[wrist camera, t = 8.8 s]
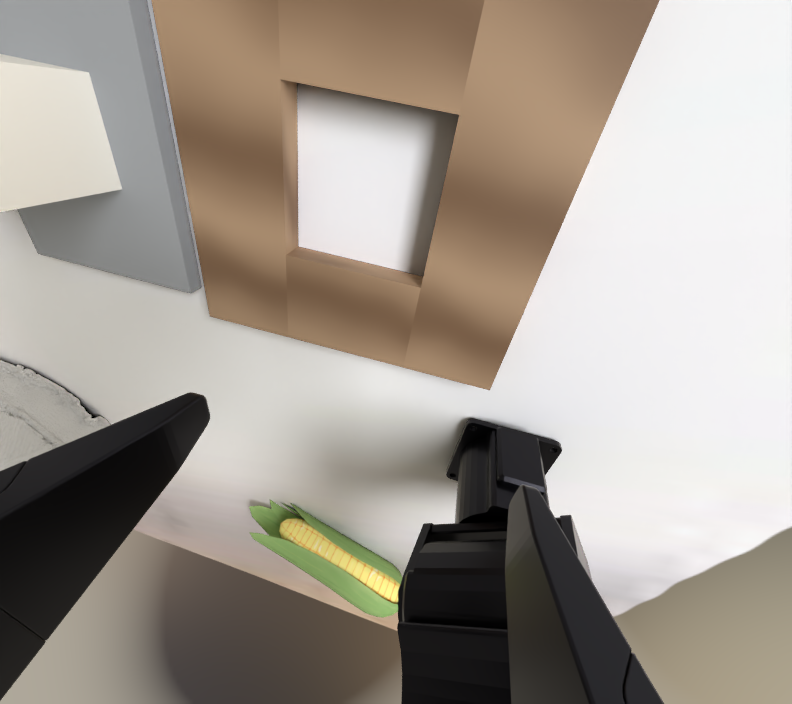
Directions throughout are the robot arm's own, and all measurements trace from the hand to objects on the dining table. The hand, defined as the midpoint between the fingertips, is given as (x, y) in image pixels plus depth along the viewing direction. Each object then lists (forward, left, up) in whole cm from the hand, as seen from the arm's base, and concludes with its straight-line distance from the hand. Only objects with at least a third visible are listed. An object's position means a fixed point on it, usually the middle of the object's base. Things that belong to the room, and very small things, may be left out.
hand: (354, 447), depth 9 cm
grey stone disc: (-27, +37, -12) cm, 47 cm away
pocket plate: (+4, +4, -12) cm, 13 cm away
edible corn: (-31, +3, -12) cm, 34 cm away
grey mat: (+4, +20, -12) cm, 23 cm away
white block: (+4, +19, -11) cm, 23 cm away
